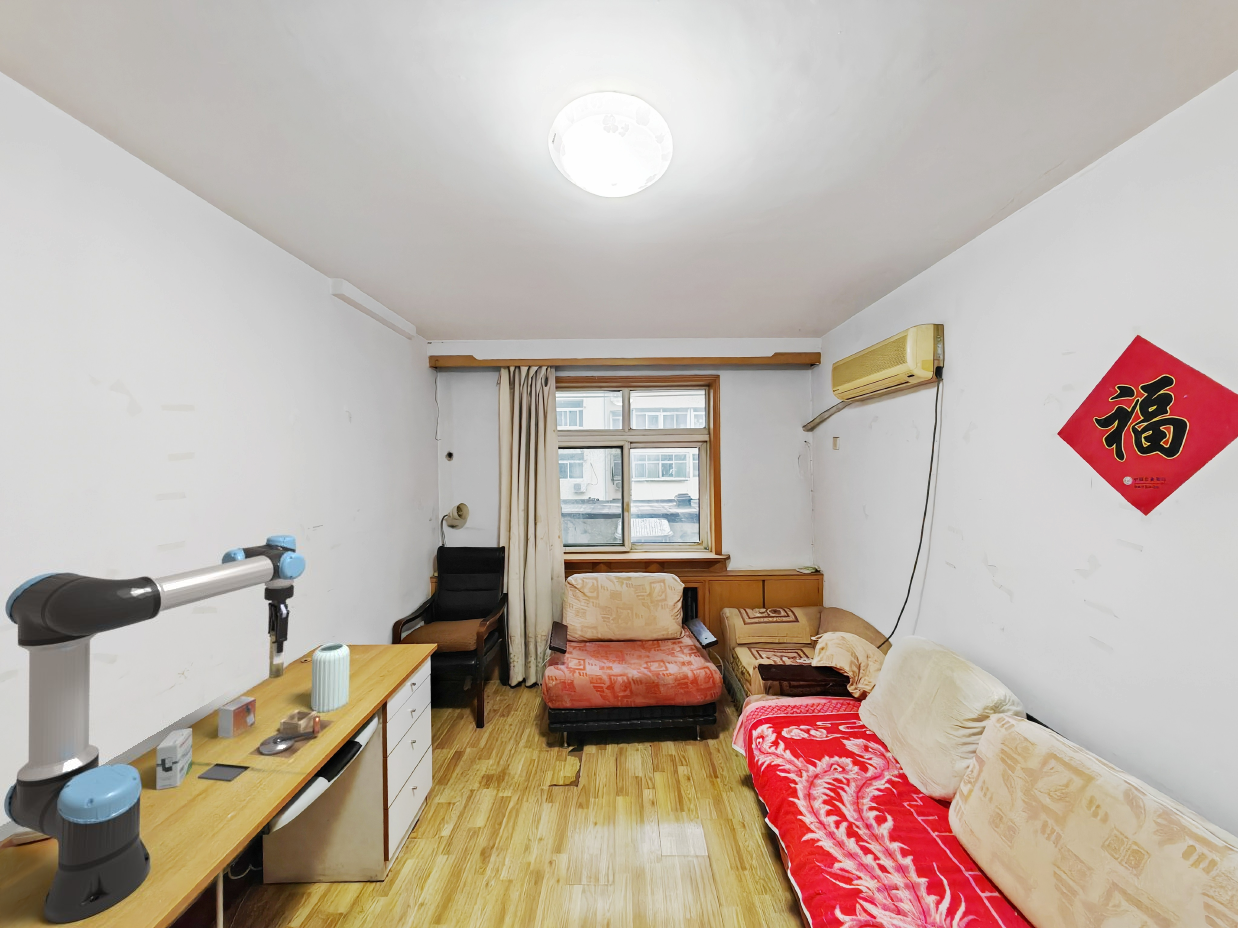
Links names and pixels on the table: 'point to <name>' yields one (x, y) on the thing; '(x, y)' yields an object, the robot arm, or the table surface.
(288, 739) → the handwheel
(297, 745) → the mount board
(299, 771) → the table surface
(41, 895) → the table surface
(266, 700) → the table surface
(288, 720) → the square socket
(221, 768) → the mat
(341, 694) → the vase
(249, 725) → the small box
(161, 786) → the ink box
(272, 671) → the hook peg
